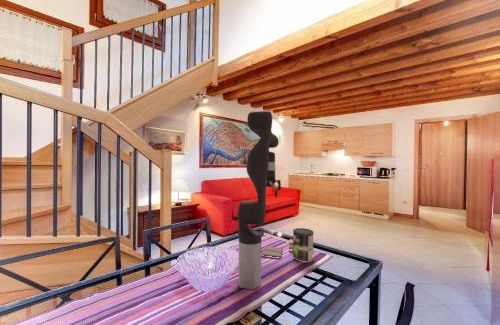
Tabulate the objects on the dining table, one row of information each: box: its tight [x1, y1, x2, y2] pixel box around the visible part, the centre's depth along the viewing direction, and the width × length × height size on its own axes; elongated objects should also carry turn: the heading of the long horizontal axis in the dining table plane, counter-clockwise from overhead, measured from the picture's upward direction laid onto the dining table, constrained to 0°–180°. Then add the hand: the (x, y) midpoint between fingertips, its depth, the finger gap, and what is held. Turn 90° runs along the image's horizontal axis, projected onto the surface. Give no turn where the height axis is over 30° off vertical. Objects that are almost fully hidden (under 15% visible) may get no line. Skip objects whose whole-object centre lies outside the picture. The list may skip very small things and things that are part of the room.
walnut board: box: [261, 246, 284, 259], centre depth 126 cm, size 12×10×1 cm
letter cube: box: [288, 238, 293, 250], centre depth 132 cm, size 5×5×5 cm
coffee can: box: [292, 227, 314, 263], centre depth 120 cm, size 10×10×14 cm
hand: (268, 197), depth 138 cm, fingers open, 8 cm apart
